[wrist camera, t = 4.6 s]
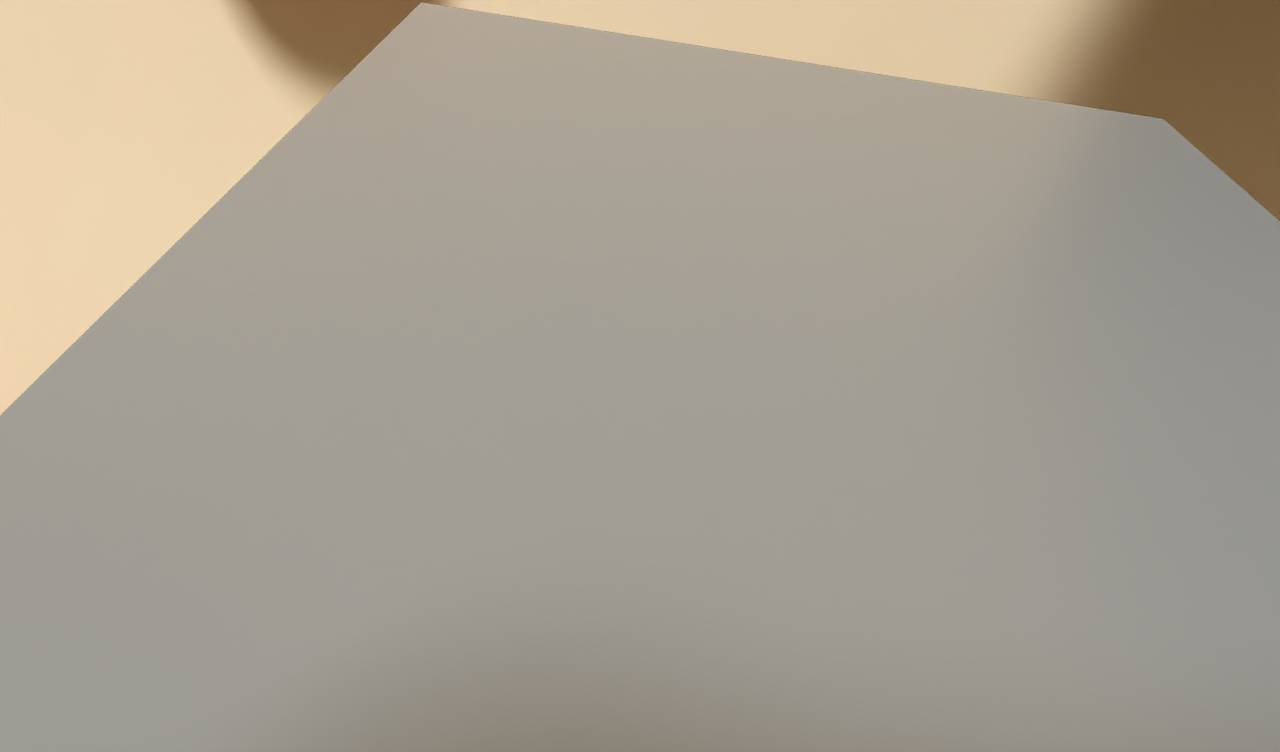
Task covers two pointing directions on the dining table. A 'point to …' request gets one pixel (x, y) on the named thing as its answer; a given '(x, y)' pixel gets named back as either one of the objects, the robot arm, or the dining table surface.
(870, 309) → the grey faceted block
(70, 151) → the dining table surface
